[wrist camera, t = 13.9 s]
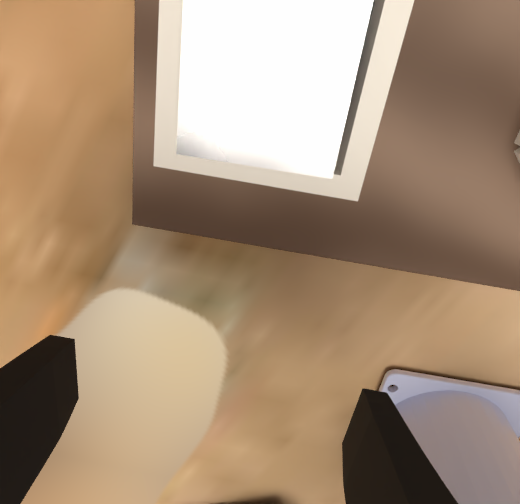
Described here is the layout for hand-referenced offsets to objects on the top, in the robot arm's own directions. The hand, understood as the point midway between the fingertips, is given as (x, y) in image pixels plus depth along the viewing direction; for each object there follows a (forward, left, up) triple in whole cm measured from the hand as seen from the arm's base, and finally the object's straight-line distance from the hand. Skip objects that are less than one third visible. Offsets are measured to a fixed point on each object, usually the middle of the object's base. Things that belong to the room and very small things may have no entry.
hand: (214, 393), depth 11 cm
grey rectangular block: (+7, 0, -8) cm, 11 cm away
